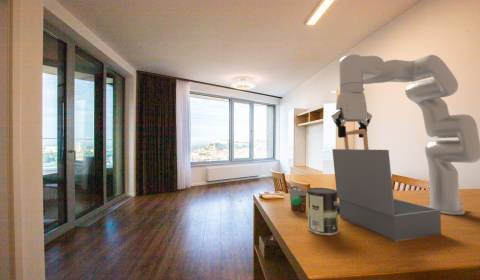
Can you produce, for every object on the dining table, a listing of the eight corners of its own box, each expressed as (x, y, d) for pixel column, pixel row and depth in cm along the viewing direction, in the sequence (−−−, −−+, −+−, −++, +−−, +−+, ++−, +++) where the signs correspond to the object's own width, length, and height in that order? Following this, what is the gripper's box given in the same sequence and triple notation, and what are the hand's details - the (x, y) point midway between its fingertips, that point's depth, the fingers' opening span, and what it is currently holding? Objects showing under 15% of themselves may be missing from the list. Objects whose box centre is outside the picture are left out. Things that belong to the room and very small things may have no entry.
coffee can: (337, 226, 79) (336, 188, 80) (339, 237, 70) (338, 194, 70) (308, 223, 83) (307, 186, 83) (306, 233, 73) (305, 192, 74)
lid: (332, 132, 90) (328, 132, 89) (386, 126, 66) (381, 127, 65) (338, 197, 90) (334, 198, 89) (395, 216, 66) (390, 217, 65)
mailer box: (377, 212, 94) (377, 194, 94) (441, 234, 71) (440, 210, 71) (339, 217, 89) (339, 198, 89) (395, 242, 66) (394, 216, 66)
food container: (285, 206, 106) (285, 186, 106) (297, 205, 107) (297, 185, 107) (293, 214, 94) (293, 191, 94) (307, 213, 94) (306, 190, 95)
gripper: (362, 94, 84) (363, 137, 83) (324, 91, 79) (325, 137, 79) (379, 89, 77) (380, 136, 76) (338, 86, 72) (340, 137, 72)
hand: (352, 137), depth 77 cm, fingers open, 8 cm apart
